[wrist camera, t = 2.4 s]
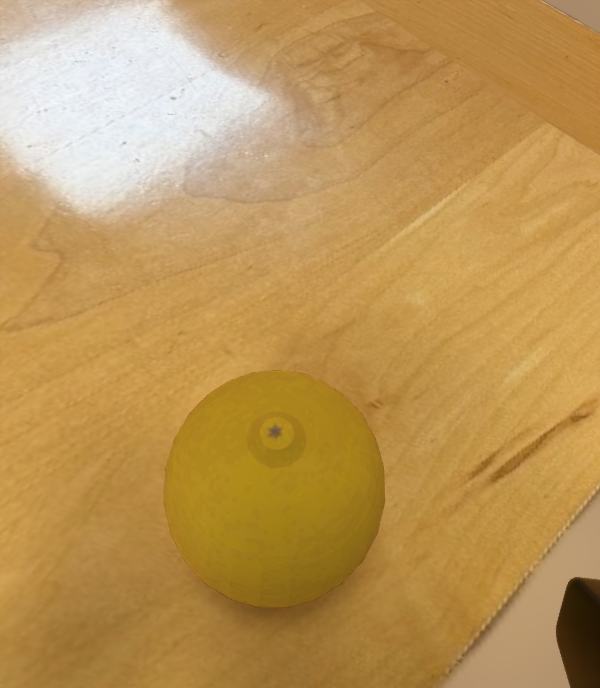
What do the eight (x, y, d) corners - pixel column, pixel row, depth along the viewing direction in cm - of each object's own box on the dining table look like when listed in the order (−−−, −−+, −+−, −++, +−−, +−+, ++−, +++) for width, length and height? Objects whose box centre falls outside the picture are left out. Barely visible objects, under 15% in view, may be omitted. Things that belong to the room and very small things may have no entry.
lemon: (285, 410, 20) (293, 272, 13) (396, 535, 18) (474, 451, 11) (151, 512, 18) (78, 413, 11) (259, 665, 16) (252, 658, 9)
